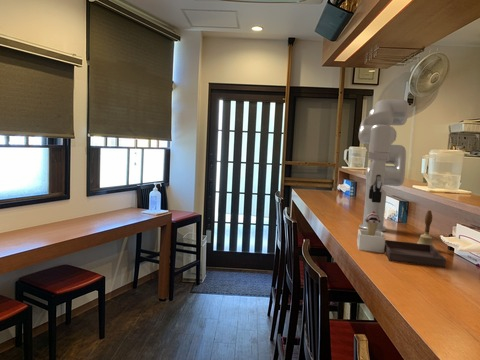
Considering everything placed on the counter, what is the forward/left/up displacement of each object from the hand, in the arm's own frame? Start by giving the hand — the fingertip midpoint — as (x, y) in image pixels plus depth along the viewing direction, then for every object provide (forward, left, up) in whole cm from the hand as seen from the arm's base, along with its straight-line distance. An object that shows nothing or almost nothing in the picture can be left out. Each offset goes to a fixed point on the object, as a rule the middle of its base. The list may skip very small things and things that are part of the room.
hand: (374, 200), depth 135 cm
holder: (0, 0, -19) cm, 19 cm away
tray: (+5, +14, -19) cm, 24 cm away
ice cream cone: (0, 0, -20) cm, 20 cm away
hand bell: (-9, +22, -20) cm, 31 cm away
